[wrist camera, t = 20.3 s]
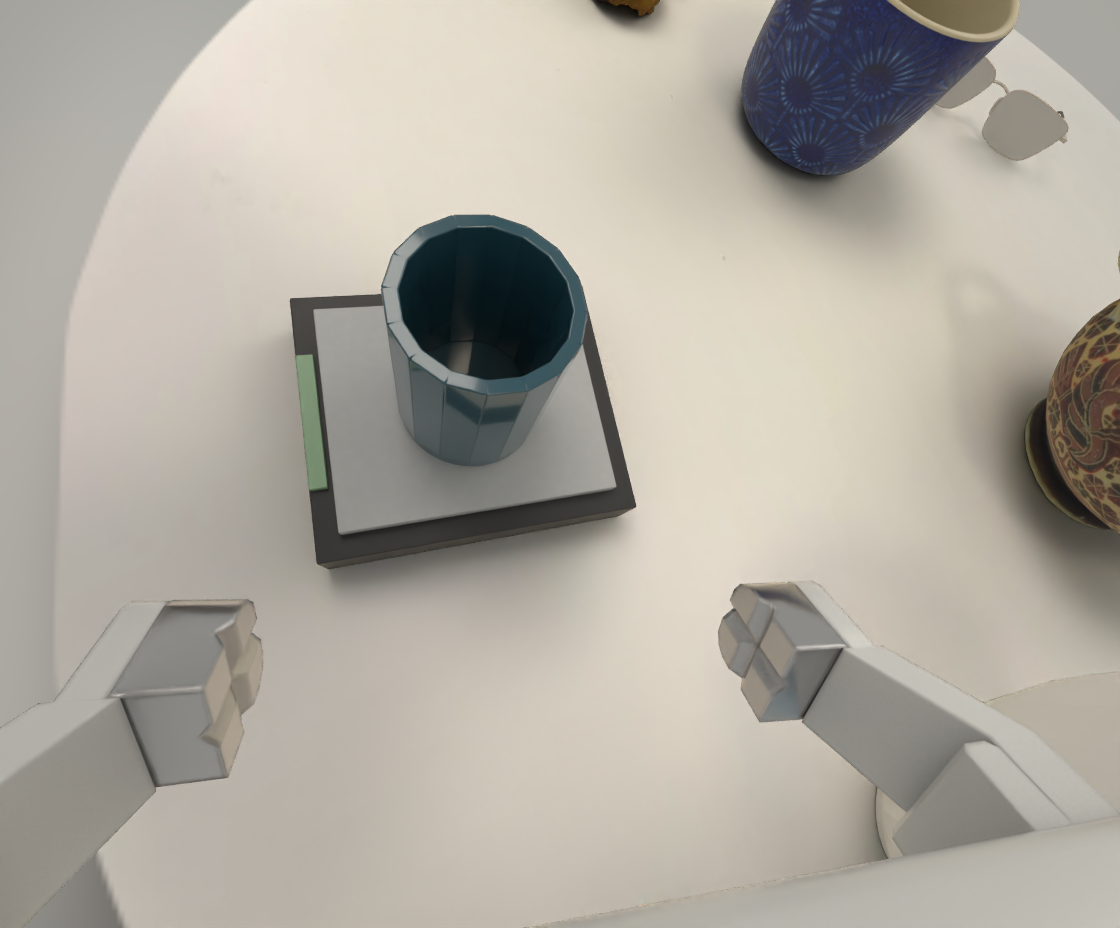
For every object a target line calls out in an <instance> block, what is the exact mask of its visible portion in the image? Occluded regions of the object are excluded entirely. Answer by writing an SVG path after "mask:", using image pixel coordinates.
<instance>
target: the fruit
mask: <svg viewBox="0 0 1120 928" xmlns="http://www.w3.org/2000/svg"><path fill="white" fill-rule="evenodd" d="M598 1H604V2H608V3H610V4H613V5H615V6H617V5H619V4H625V5H629V6H630V8H632V9H637V10H638V11H639V16H642V15H645V13H646V12H647V13H648V14H650V13H652V12H653V11H654V7H655V6H656V5H657V4H658V2H659V1H660V0H598Z"/></svg>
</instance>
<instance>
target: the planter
mask: <svg viewBox="0 0 1120 928" xmlns="http://www.w3.org/2000/svg"><path fill="white" fill-rule="evenodd" d="M1019 10H1020V1H1019V0H776V1H775V3H774V5H773V7H772V9H771V11H770V13H769V15H768V17H767V19H766V21H765V23H764V25H763V27H762V29H761V31H760V33H759V35H758V38H757V40H756V42H755V44H754V47H753V49H752V51H751V54H750V56H749V59H748V62H747V65H746V68H745V71H744V76H743V81H742V102H743V107H744V111H745V114H746V117H747V120H748V122H749V124H750V126H751V128H752V130H753V131H754V133H755V135H756V136H757V137H758V139H759V140H760V141H761V142H762V144H763V145H764V146H765V147H766V148H767V149H768V150H769V151H770V152H771V153H772V154H774V155H775V156H776V157H777V158H779V159H780V160H782V161H783V162H785V163H786V164H788V165H790V166H792V167H794V168H796V169H799V170H801V171H804V172H808V173H811V174H817V175H838V174H843V173H847V172H850V171H852V170H854V169H857V168H859V167H861V166H862V165H864V164H866V163H867V162H869V161H870V160H872V159H873V158H874V157H876V156H877V155H878V154H880V153H881V152H882V151H883V150H885V149H886V148H887V147H888V146H889V145H891V144H892V143H893V142H894V141H895V140H896V139H898V138H899V137H900V136H901V135H902V134H903V133H904V132H905V131H907V130H908V129H909V128H910V127H911V126H912V125H913V124H914V123H915V122H916V121H917V120H919V119H920V118H921V117H922V116H923V115H924V114H925V113H926V112H927V111H928V110H929V109H930V108H931V107H932V106H934V105H935V104H936V103H937V102H938V101H939V100H940V99H941V98H942V97H943V96H944V95H945V94H946V93H947V92H948V91H949V90H950V89H951V88H952V87H954V86H955V85H956V84H957V83H958V82H959V81H960V80H961V79H962V78H963V77H964V76H965V75H966V74H967V73H968V72H969V71H970V70H971V69H972V68H973V67H974V66H975V65H976V64H978V63H979V62H980V61H981V60H982V59H983V58H984V57H985V56H986V55H987V54H988V53H989V52H990V51H991V50H992V49H993V48H994V47H995V46H996V45H997V44H998V43H999V42H1000V41H1001V40H1002V39H1004V38H1005V37H1006V36H1007V35H1008V34H1009V33H1010V32H1011V31H1012V29H1013V28H1014V26H1015V24H1016V22H1017V19H1018V16H1019Z"/></svg>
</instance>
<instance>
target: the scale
mask: <svg viewBox="0 0 1120 928" xmlns="http://www.w3.org/2000/svg"><path fill="white" fill-rule="evenodd" d="M581 286H582V285H581ZM582 290H583V288H582ZM583 294H584V292H583ZM584 298H585V296H584ZM585 302H586V300H585ZM586 306H587V304H586ZM290 307H291V316H292V326H293V336H294V346H295V355H296V356H295V358H296V368H297V377H298V387H299V397H300V407H301V416H302V426H303V436H304V446H305V455H306V465H307V475H308V485H309V492H310V502H311V512H312V521H313V531H314V541H315V551H316V561H317V564H318V565H320V566H323V567H325V568H327V569H333V568H339V567H344V566H349V565H355V564H360V563H366V562H371V561H377V560H382V559H388V558H393V557H398V556H404V555H409V554H415V553H420V552H426V551H431V550H437V549H442V548H448V547H453V546H458V545H464V544H469V543H475V542H480V541H486V540H491V539H497V538H502V537H508V536H513V535H518V534H524V533H529V532H535V531H540V530H546V529H551V528H557V527H562V526H567V525H573V524H578V523H584V522H589V521H595V520H600V519H606V518H611V517H617V516H620V515H621V514H623V513H625V512H627V511H629V510H631V509H633V508H635V507H636V503H635V499H634V495H633V491H632V487H631V483H630V479H629V475H628V471H627V467H626V462H625V458H624V454H623V450H622V446H621V442H620V438H619V434H618V430H617V426H616V422H615V418H614V414H613V410H612V406H611V402H610V397H609V393H608V389H607V385H606V381H605V377H604V373H603V369H602V365H601V361H600V357H599V353H598V349H597V345H596V341H595V336H594V332H593V328H592V324H591V320H590V316H589V312H587V313H588V316H587V321H586V327H585V332H584V338H583V343H582V346H581V348H580V350H579V352H578V353H577V355H576V357H575V359H574V360H573V362H572V364H571V366H570V367H569V369H568V371H567V373H566V374H565V376H564V378H563V380H562V381H561V383H560V385H559V387H558V388H557V390H556V392H555V394H554V395H553V397H552V399H551V401H550V402H549V404H548V406H547V407H546V409H545V411H544V413H543V414H542V416H541V418H540V420H539V421H538V423H537V425H536V427H535V428H534V429H533V431H532V432H531V434H530V435H529V437H528V438H527V440H526V441H525V442H524V443H523V445H522V446H521V447H520V448H519V449H518V450H516V451H515V452H514V453H512V454H511V455H510V456H508V457H506V458H504V459H502V460H500V461H498V462H495V463H492V464H488V465H483V466H460V465H455V464H451V463H448V462H444V461H442V460H440V459H438V458H435V457H434V456H432V455H430V454H429V453H427V452H426V451H425V450H423V449H422V448H421V447H420V446H419V445H418V444H417V443H416V442H415V441H414V440H413V439H412V437H411V436H410V435H409V433H408V432H407V430H406V428H405V426H404V424H403V422H402V419H401V417H400V414H399V408H398V401H397V395H396V388H395V381H394V374H393V368H392V361H391V354H390V348H389V341H388V334H387V327H386V321H385V314H384V307H383V300H382V294H377V295H355V296H333V297H311V298H291V299H290ZM587 310H588V308H587Z"/></svg>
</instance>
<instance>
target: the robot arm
mask: <svg viewBox="0 0 1120 928" xmlns="http://www.w3.org/2000/svg"><path fill="white" fill-rule="evenodd" d="M730 601H731V604H732V606H733V609H732V610H731V611H730V612H729V613H727V614H726V615H725V616H724V617H723V618H722V621H721V624H720V627H719V630H718V639H719V648H720V651H721V654H722V657H723V659H724V661H725V663H726V665H727V666H728V668H729V669H730V670H731V671H733V672H734V673H736V674H737V675H738V676H740V677H741V678H742V683H741V691H742V693H743V694H744V696H745V698H746V700H747V701H748V703H749V705H750V707H751V708H752V710H753V712H754V714H755V715H756V717H757V719H758V720H759V722H772V721H785V720H799V719H803V720H802V723H804V724H805V725H806V726H807V727H808V728H809V729H810V730H812V731H813V732H814V733H815V734H816V735H817V736H819V737H820V738H821V739H822V740H823V741H824V742H825V743H827V744H828V745H829V746H830V747H831V748H832V749H834V750H835V751H836V752H837V753H838V754H839V755H841V756H842V757H843V758H844V759H845V760H846V761H847V762H849V763H850V764H851V765H852V766H853V767H854V768H856V769H857V770H858V771H859V772H860V773H861V774H862V775H864V776H865V777H866V778H867V779H868V780H869V781H871V782H872V783H873V784H874V785H875V786H876V787H878V788H879V789H880V790H881V791H882V792H883V793H884V794H886V795H887V796H888V797H889V798H890V799H891V800H893V801H894V802H895V803H896V804H897V805H898V806H899V807H901V808H902V809H903V810H904V811H905V812H906V814H905V815H904V816H903V818H902V819H901V820H900V821H899V822H898V824H897V825H896V826H895V827H894V828H893V833H892V839H893V841H894V842H895V844H896V846H897V847H898V849H899V850H900V852H901V853H902V855H903V856H901V857H896V858H890V859H885V860H880V861H875V862H869V863H864V864H859V865H853V866H848V867H843V868H838V869H832V870H827V871H822V872H816V873H811V874H806V875H800V876H795V877H790V878H785V879H779V880H774V881H769V882H763V883H758V884H753V885H748V886H742V887H737V888H732V889H726V890H721V891H716V892H711V893H705V894H700V895H695V896H689V897H684V898H679V899H673V900H668V901H663V902H658V903H652V904H647V905H642V906H636V907H631V908H626V909H621V910H615V911H610V912H605V913H599V914H594V915H589V916H584V917H578V918H573V919H568V920H562V921H557V922H552V923H547V924H541V925H536V926H531V927H525V928H1120V813H1119V812H1118V811H1117V810H1116V809H1115V808H1114V807H1113V806H1112V805H1111V804H1110V803H1109V802H1108V801H1107V800H1106V799H1105V798H1104V797H1103V796H1102V795H1101V794H1100V793H1099V792H1098V791H1097V790H1095V789H1094V788H1093V787H1092V786H1091V785H1090V784H1089V783H1088V782H1087V781H1086V780H1085V779H1084V778H1083V777H1082V776H1081V775H1080V774H1079V773H1078V772H1077V771H1076V770H1075V769H1074V768H1073V767H1071V766H1070V765H1069V764H1068V763H1067V762H1066V761H1065V760H1064V759H1063V758H1062V757H1061V756H1060V755H1059V754H1058V753H1057V752H1056V751H1055V750H1054V749H1053V748H1052V747H1051V746H1050V745H1049V744H1047V743H1046V742H1045V741H1044V740H1043V739H1042V738H1041V737H1040V736H1039V735H1038V734H1037V733H1036V732H1034V731H1033V730H1031V729H1029V728H1027V727H1026V726H1024V725H1022V724H1020V723H1018V722H1017V721H1015V720H1013V719H1011V718H1010V717H1008V716H1006V715H1004V714H1003V713H1001V712H999V711H997V710H995V709H994V708H992V707H990V706H988V705H987V704H985V703H983V702H981V701H980V700H978V699H976V698H974V697H972V696H971V695H969V694H967V693H965V692H964V691H962V690H960V689H958V688H957V687H955V686H953V685H951V684H949V683H948V682H946V681H944V680H942V679H941V678H939V677H937V676H935V675H934V674H932V673H930V672H928V671H927V670H925V669H923V668H921V667H919V666H918V665H916V664H914V663H912V662H911V661H909V660H907V659H905V658H904V657H902V656H900V655H898V654H896V653H895V652H893V651H891V650H889V649H888V648H886V647H884V646H875V645H874V644H873V643H872V641H871V640H870V639H869V638H868V637H867V636H866V635H865V634H864V633H863V632H862V630H861V629H860V628H859V627H858V626H857V625H856V624H855V623H854V622H853V621H852V619H851V618H850V617H849V616H848V615H847V614H846V613H845V612H844V611H843V610H842V608H841V607H840V606H839V605H838V604H837V603H836V602H835V601H834V600H833V599H832V597H831V596H830V595H829V594H828V593H827V592H826V591H825V590H824V589H823V588H822V586H821V585H819V584H817V583H815V582H813V581H796V582H787V583H785V582H778V583H753V584H740V585H739V586H738V587H736V588H735V589H734V591H733V594H732V596H731V598H730ZM256 620H257V616H256V612H255V607H254V603H253V602H252V601H250V600H248V599H242V600H172V601H132V602H130V603H129V604H127V605H125V606H124V607H122V608H121V609H120V610H119V611H118V613H117V614H116V616H115V617H114V618H113V620H112V621H111V623H110V624H109V625H108V627H107V628H106V629H105V631H104V632H103V634H102V635H101V636H100V638H99V639H98V640H97V642H96V643H95V645H94V646H93V647H92V649H91V650H90V651H89V653H88V654H87V656H86V657H85V658H84V660H83V661H82V663H81V664H80V665H79V667H78V668H77V669H76V671H75V672H74V674H73V675H72V676H71V678H70V679H69V680H68V682H67V683H66V685H65V686H64V687H63V689H62V690H61V692H60V693H59V694H58V696H57V697H56V698H55V700H54V701H53V702H48V703H38V704H37V705H35V706H33V707H32V708H30V709H29V710H27V711H26V712H24V713H22V714H21V715H19V716H18V717H16V718H14V719H13V720H11V721H10V722H8V723H6V724H5V725H3V726H2V727H0V928H23V927H24V926H25V925H26V924H27V923H28V922H29V921H30V920H31V919H32V918H33V917H34V916H35V915H36V914H37V913H38V912H39V911H40V910H41V908H43V907H44V906H45V905H46V904H47V902H48V901H49V900H50V899H51V898H52V897H53V896H54V895H55V894H56V893H57V892H58V891H59V890H60V889H61V888H62V887H63V886H64V885H65V884H66V883H67V882H68V881H69V880H70V879H71V878H72V877H73V876H74V875H75V874H76V873H77V871H79V870H80V869H81V868H82V867H83V866H84V865H85V864H86V862H88V860H89V859H90V858H91V857H92V856H93V855H94V854H95V853H96V852H97V851H98V850H99V849H100V848H101V847H102V846H103V845H104V844H105V843H106V842H107V841H108V840H109V839H110V838H111V837H112V836H113V835H114V834H115V833H116V832H117V831H118V830H119V829H120V828H121V827H122V826H123V825H124V824H125V823H126V822H127V820H128V819H129V818H130V817H131V816H132V815H133V814H134V813H135V812H136V811H137V810H138V809H139V808H140V807H141V806H142V805H143V804H144V803H145V802H146V801H147V800H148V799H149V798H150V797H151V796H152V795H153V794H154V793H155V792H156V789H155V787H161V786H168V785H176V784H184V783H192V782H199V781H207V780H215V779H222V778H228V777H229V774H230V771H231V768H232V765H233V762H234V759H235V757H236V754H237V751H238V748H239V745H240V742H241V740H242V737H243V734H244V729H243V725H242V720H241V715H242V714H243V713H244V712H245V711H246V710H248V709H249V708H250V707H251V706H252V705H253V704H254V702H255V699H256V696H257V693H258V690H259V687H260V681H261V675H262V669H263V649H262V643H261V639H260V638H258V637H257V636H256V635H254V634H253V633H252V630H253V627H254V625H255V622H256Z"/></svg>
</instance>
